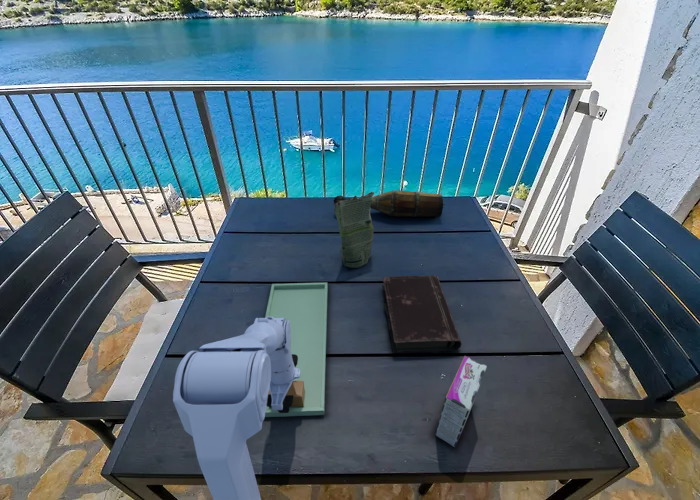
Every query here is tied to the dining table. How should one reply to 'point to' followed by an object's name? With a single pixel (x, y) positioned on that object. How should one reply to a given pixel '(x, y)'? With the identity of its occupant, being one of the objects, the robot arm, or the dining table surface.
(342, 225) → the pouch
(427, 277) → the diary
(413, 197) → the decorative bottle
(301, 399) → the block
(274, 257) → the dining table surface
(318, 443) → the dining table surface
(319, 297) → the tray
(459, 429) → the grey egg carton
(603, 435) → the dining table surface
